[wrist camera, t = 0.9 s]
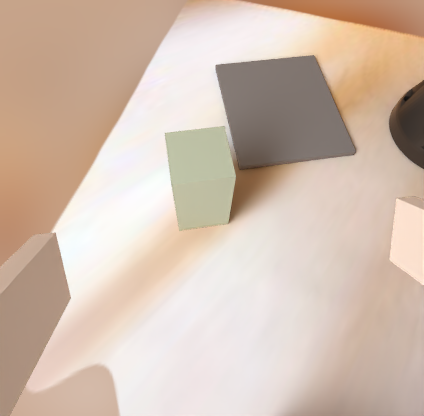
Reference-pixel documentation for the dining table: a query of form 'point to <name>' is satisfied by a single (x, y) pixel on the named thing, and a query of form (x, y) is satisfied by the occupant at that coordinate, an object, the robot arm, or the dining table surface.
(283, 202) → the dining table surface
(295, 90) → the mat
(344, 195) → the dining table surface
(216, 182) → the sage block
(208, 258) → the dining table surface
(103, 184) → the dining table surface
